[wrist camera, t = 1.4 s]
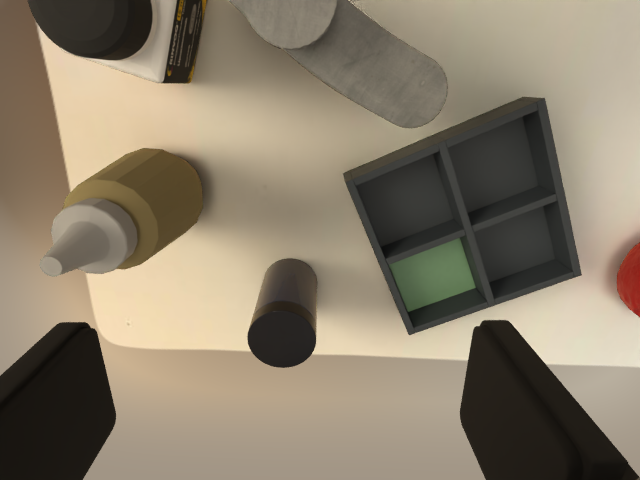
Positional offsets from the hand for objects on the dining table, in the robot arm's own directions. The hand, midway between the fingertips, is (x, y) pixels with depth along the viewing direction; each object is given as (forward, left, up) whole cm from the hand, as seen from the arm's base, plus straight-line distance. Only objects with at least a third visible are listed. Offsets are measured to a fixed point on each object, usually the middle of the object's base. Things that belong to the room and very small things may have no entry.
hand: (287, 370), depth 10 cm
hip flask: (-4, -9, -29) cm, 31 cm away
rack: (-11, +11, -29) cm, 33 cm away
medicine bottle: (+7, -15, -29) cm, 34 cm away
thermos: (+7, +11, -29) cm, 32 cm away
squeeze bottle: (+13, -3, -29) cm, 32 cm away
